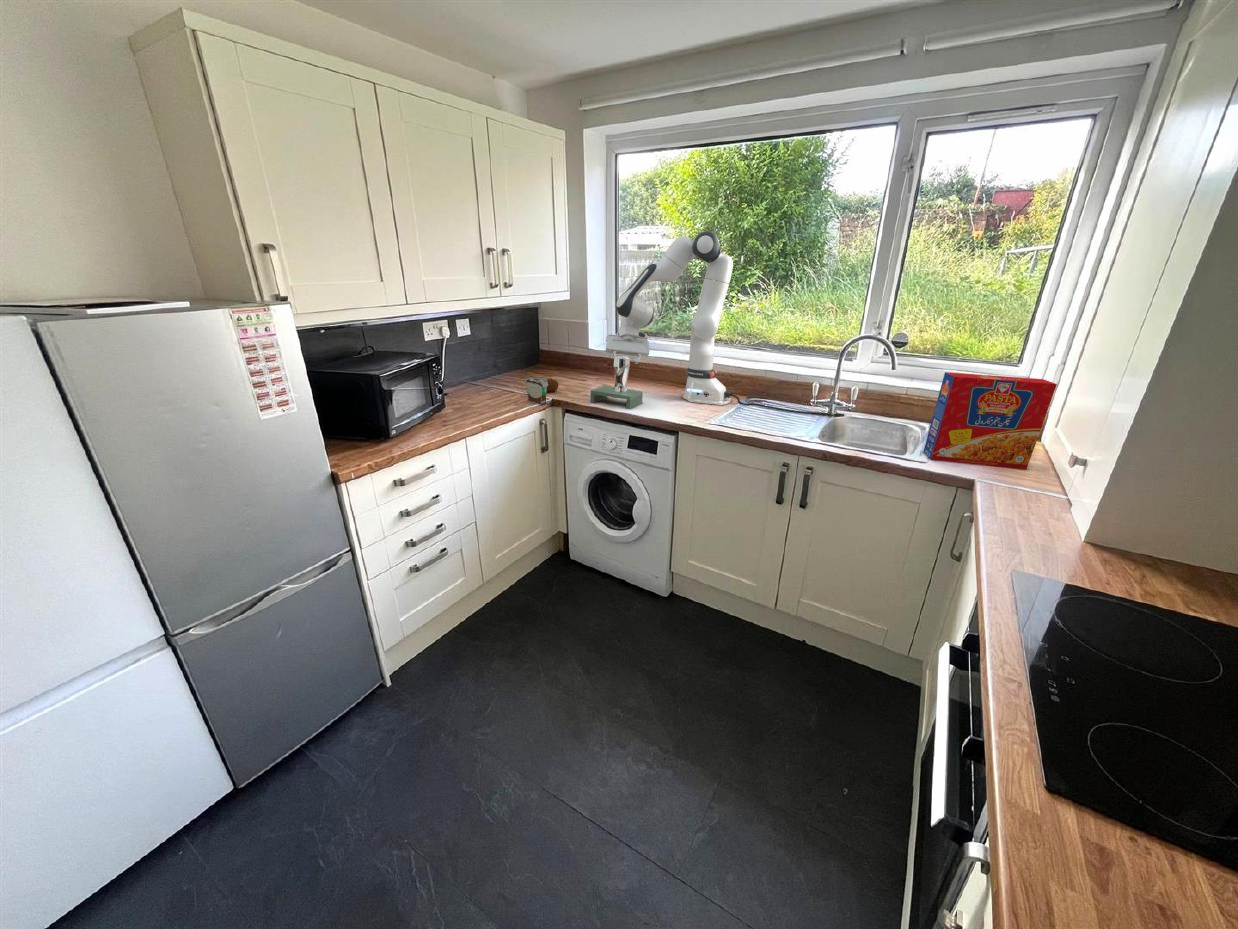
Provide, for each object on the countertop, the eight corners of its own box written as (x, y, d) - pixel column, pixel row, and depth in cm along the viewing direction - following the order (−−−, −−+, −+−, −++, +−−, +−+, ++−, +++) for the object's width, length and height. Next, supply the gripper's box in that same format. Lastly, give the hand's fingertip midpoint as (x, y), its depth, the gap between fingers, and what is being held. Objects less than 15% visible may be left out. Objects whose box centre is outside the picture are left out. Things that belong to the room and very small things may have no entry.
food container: (554, 403, 218) (554, 381, 214) (543, 405, 214) (542, 382, 210) (537, 398, 226) (536, 376, 222) (526, 400, 222) (525, 378, 218)
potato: (562, 390, 242) (562, 377, 240) (548, 394, 233) (548, 381, 231) (552, 388, 245) (552, 375, 243) (538, 393, 236) (537, 379, 233)
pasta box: (930, 459, 166) (954, 376, 156) (923, 452, 174) (945, 372, 163) (1026, 469, 160) (1057, 384, 150) (1014, 461, 168) (1042, 379, 158)
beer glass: (617, 388, 225) (618, 355, 219) (631, 391, 222) (632, 357, 216) (609, 391, 219) (610, 357, 214) (623, 393, 216) (624, 359, 210)
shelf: (642, 403, 224) (642, 391, 222) (629, 409, 214) (630, 396, 212) (603, 397, 233) (604, 385, 231) (590, 402, 223) (590, 390, 221)
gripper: (606, 329, 229) (604, 355, 224) (650, 335, 230) (649, 360, 225) (606, 338, 235) (603, 363, 230) (649, 342, 236) (647, 368, 231)
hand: (626, 361), depth 228 cm, fingers open, 8 cm apart
